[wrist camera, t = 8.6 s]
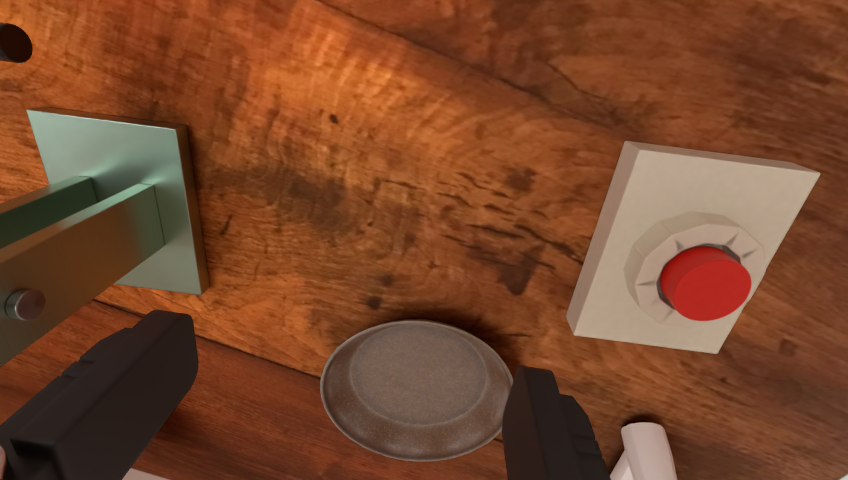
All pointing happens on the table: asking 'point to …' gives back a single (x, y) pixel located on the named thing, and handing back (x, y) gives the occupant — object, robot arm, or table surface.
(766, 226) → the button box
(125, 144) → the bracket
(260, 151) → the table surface
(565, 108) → the table surface
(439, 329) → the saucer
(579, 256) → the table surface
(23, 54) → the tap handle
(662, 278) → the button
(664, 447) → the faucet
